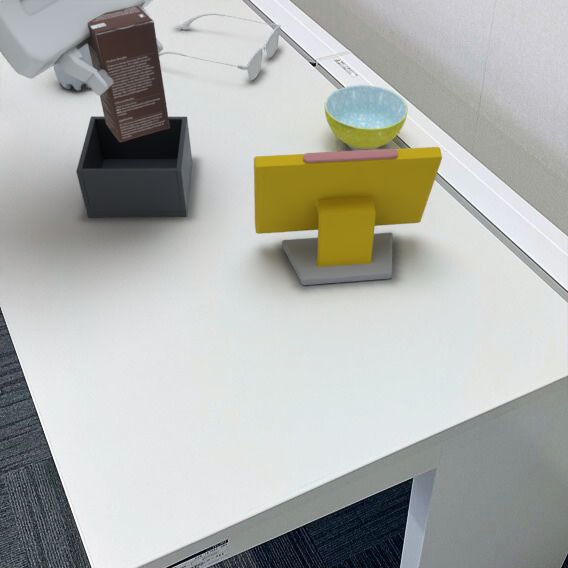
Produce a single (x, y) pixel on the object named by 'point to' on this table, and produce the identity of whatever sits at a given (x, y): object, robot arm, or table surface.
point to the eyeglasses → (256, 59)
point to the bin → (136, 171)
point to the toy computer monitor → (342, 207)
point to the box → (129, 72)
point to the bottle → (70, 80)
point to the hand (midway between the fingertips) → (132, 71)
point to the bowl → (365, 115)
